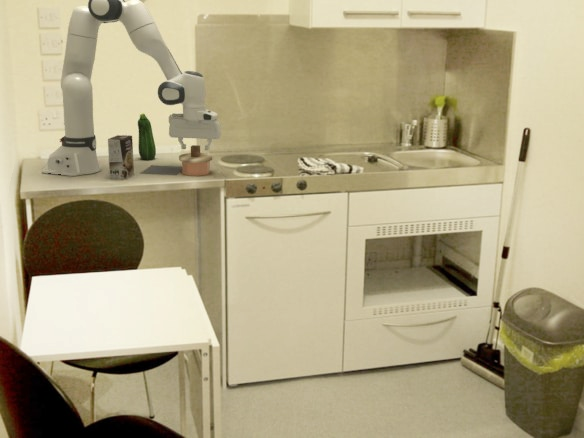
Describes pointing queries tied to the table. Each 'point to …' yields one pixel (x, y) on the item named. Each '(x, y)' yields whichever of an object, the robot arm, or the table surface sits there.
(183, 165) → the bowl
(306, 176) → the table surface
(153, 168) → the mat
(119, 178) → the coffee box
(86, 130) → the robot arm
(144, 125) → the vegetable
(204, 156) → the lid
